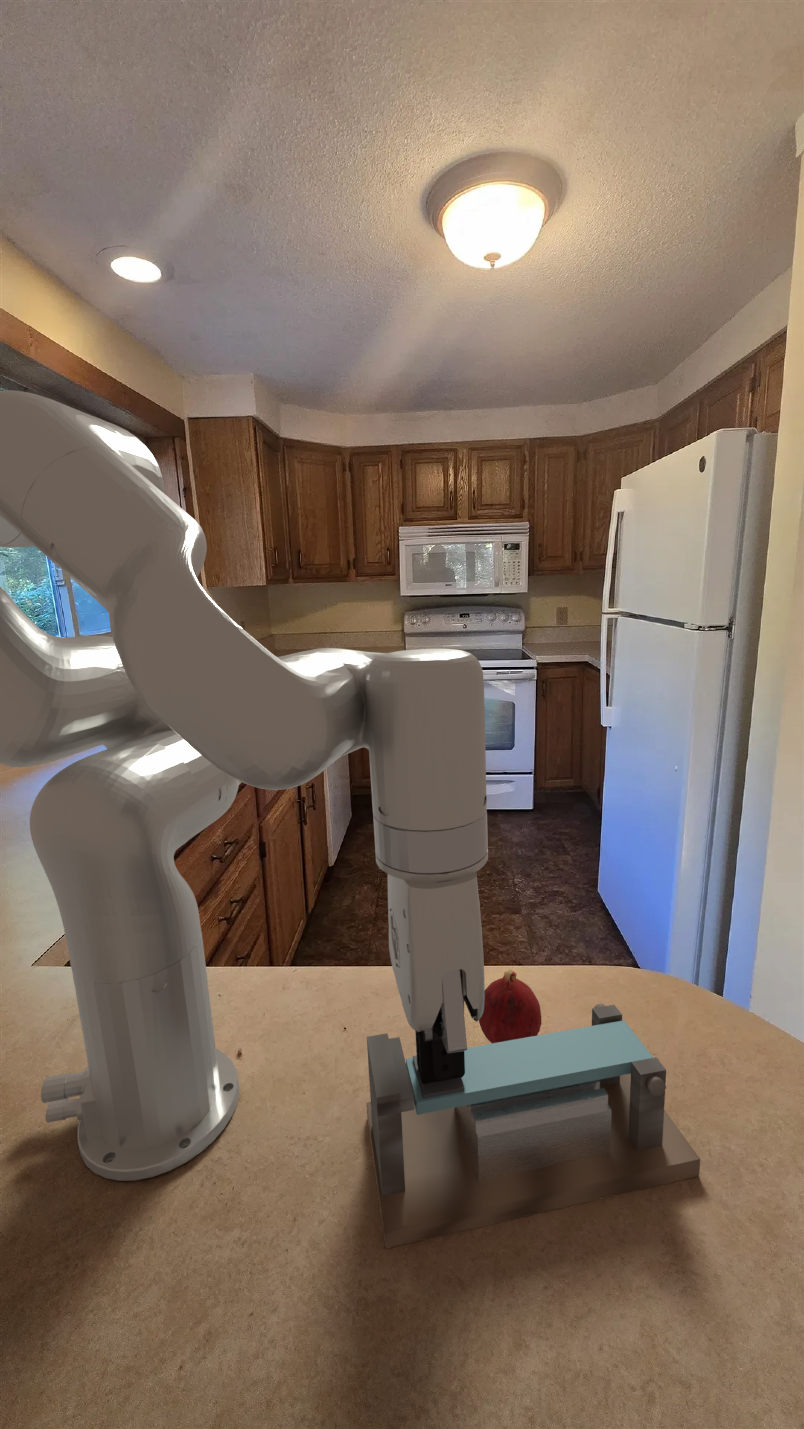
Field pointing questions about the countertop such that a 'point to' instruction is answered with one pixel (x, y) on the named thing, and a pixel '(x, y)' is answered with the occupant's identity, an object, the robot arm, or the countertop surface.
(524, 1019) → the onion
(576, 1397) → the countertop surface
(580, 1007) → the countertop surface
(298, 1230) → the countertop surface
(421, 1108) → the bar
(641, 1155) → the clip base
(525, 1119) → the heat sink
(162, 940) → the robot arm
